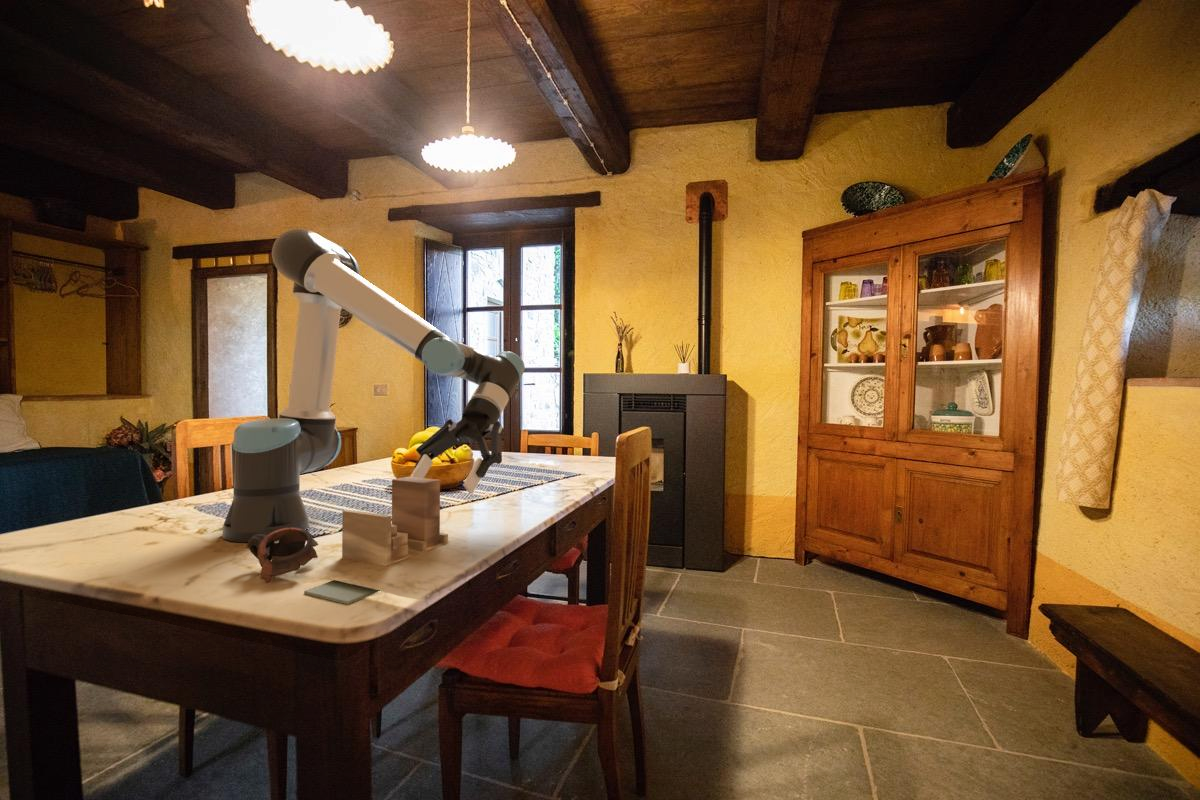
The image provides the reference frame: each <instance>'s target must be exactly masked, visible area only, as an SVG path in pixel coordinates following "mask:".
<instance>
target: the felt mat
mask: <svg viewBox="0 0 1200 800" xmlns="http://www.w3.org/2000/svg"><path fill="white" fill-rule="evenodd" d="M378 591H379V592H381V589H380V590H379V589H376V588H371V587H367V586H362V585H358V584H354V583H353V584H352V583H349V582H346V581H345V582H344V581H340V580H336V579H334V580H333V579H332V580H330V581H327V582H325V583H322V584H318V585H317V586H314V587H312V588H308V589H305V590H304V595H309V596H313V597H317V598H321V599H325V600H327V601H328V600H329V601H332V602H337V603H341V604H344V605H351V604H353V603H355V602H358V601H359V600H362V599H365V598H367V597H369V596H371V595H374V594H376V593H379V592H378ZM366 596H367V597H366ZM364 597H365V598H364ZM357 600H358V601H357ZM352 602H353V603H352ZM350 603H351V604H350Z"/></svg>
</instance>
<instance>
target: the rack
mask: <svg viewBox="0 0 1200 800" xmlns="http://www.w3.org/2000/svg"><path fill="white" fill-rule="evenodd" d="M341 513H342V517H341V519H342V526H341V527H342V529H341V530H342V531H341V532H342V533H341V534H342V535H341V538H342V541H341V542H342V543H341V546H342V547H341V552H342V554H341V557H342V558H343V559H348V560H353V561H357V562H362V563H368V564H372V565H376V566H377V565H378V566H381V567H382V566H383V567H387V566H390V565H393V564H395V563H398V562H400V561H403V560H406V559H407V558H411V557H413V556H416V555H419V554H421V553H424V552H427V551H429V550H432V549H435V548H437V547H439V546H442V545H445V544H447V543H451V542H452V541H451V540H449V534H448V533H444V532H440V543H439V544H436V545H433V546H431V547H428V548H426V542H425V541H419V540H413V539H408V533H399V532H397V526H396V525H392V515H388V514H383V513H382V514H381V513H374V512H369V511H368V512H367V511H361V510H354V509H345V510H342V512H341Z"/></svg>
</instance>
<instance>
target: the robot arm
mask: <svg viewBox="0 0 1200 800" xmlns="http://www.w3.org/2000/svg"><path fill="white" fill-rule="evenodd" d="M271 257H272V262H273V264H274V266H275V268H276V269H277V270H278V272H279V273H280V274H281V275H282V276H283V277H285V278H286V279H287V280H290V281H291V282H293V286H292V287H293V288H292V296H293V297H294V298H295V299H296V300H297V302H298V305H299V306H298V312H297V313H298V314H297V322H296V333H295V340H294V350H293V356H292V357H293V359H292V368H291V375H290V385H289V386H290V387H289V395H288V404H287V406H286V407H285V408H284V409H282V410H281V411H280V412H279V415H278V418H266V419H265V418H264V419H256V420H251V421H246V422H243V423H240V424H239V425H237V427H235V429H234V432H233V441H232V445H231V446H232V448H233V451H232V453H233V458H232V459H233V469H232V470H233V472H232V473H233V477H232V479H233V497H232V498H233V499H232V501H231V504H230V507H229V510H228V512H227V515H226V517H225V519H224V523H223V525H222V539H223V540H225V541H229V542H233V543H234V542H235V543H248V542H249V540H250V539H251V538H252V537H253V536H254V535H258V534H264V535H268V534H270V533H272V532H274V531H276V530H279V529H282V528H291V527H293V528H300V529H303V530H305V529H307V528H308V527H309V528H310V526H309V525H310V524H309V523H310V519H309V515H308V512H307V510H306V506H305V505H304V502H303V499H302V496H301V493H300V492H301V491H300V489H301V488H300V485H301V484H300V482H301V481H300V475H301V474H306V473H311V472H316V471H320V470H321V469H323V468H325V467H327V466H329V465H330V464H332V463H333V462H334V460H335V459H337V457H338V455H340V454H339V453H340V451H341V448H342V437H341V433H340V432H339V431H338V429H337V427H336V415H335V414H334V413H333V412H332V411H331V409H330V408H331V401H332V393H333V392H332V391H333V382H334V380H333V379H334V373H335V363H336V356H337V355H336V354H337V346H338V337H339V330H340V329H339V328H340V318H341V311H342V309H343V310H345V311H346V312H347V313H350V314H351V315H352V316H354V317H355V318H357V320H360V321H361V322H363V324H365V325H367V326H368V327H370V328H371V329H373V330H374V331H376V332H377V333H379V335H380V334H381V336H384V337H385V338H386V339H387V340H389V341H390V342H392V343H393V344H395V345H397V347H399V348H401V349H402V350H404V351H405V352H406V353H408V354H409V355H411V356H413V357H414V358H416V360H418V361H419V362H420V363H422V364H423V365H424V366H425V368H426V369H427V370H428V371H429V372H431V373H433V374H435V375H437V376H440V377H453V378H459V379H463V380H465V381H467V382H471V383H473V384H475V385H478V386H477V388H476V389H475V391H474V392H473V394H472V395H471V398H470V399H469V400H468V402H467V404H466V406H465V407H464V409H463V411H462V417H461V419H460V420H459V421H458V422H453V420H452V419H448V420H446V421H445V423H444V424H443V426H441V427H440V428H439V429H438V430H437V431H436V432H435V433H434V434H431V436H430V437H429V438H427V439H426V440H425V441H424V442H423V443H422V444H420V445H419V446H418V447H417V448H416V449H415V451H416V452H417V454H418V455H419V456H420V457H419V459H418V460H417V462H416V463H415V465H414V467H413V468H414V469H413V471H412V472H411V473H410V475H409V477H417V478H426V475H427V473H428V472H429V471H430V469H431V467H432V465H433V463H434V462H433V460H434V459H436V458H437V457H438V456H440V455H441V454H443V453H445V452H446V451H447V450H449V449H451V448H452V447H454V446H456V445H457V446H459V445H461V444H462V443H465V444H467V443H471V444H476V443H477V445H478V447H479V452H480V456H481V457H477V459H476V460H475V462H474V464H473V466H472V468H471V470H470V471H469V474H468V475H467V477H466V479H465V481H464V483H463V484H462V485H463V487H464V489H465V490H466V491H467V493H468V494H470V495H471V494H472V495H473V494H474V492H475V490H476V488H477V486H478V485H479V482H480V480H481V479H482V478H484V477H485V475H486V474H487V472H488V470H489V469H490V466H492V465H494V464H497V465H499V464H501V463H502V462H503V454H502V453H503V452H502V451H503V449H502V445H503V444H502V436H503V433H504V431H505V429H504V427H503V426H502V424H501V422H500V421H499V420H500V417H501V415H502V413H503V411H504V410H505V408H506V406H507V405H508V402H509V401H510V399H511V397H512V395H513V394H514V392H515V390H516V388H517V387H518V385H519V384H520V381H521V379H522V376H523V374H524V372H525V369H526V367H525V366H526V365H525V362H524V361H523V359H522V358H521V357H520V356H519V355H518V354H517V353H514V352H512V351H505V350H503V351H500V352H499V353H498V354H497V355H495V356H494V355H492V354H489V353H485V352H483V351H481V350H478V349H476V348H474V347H471V346H469V345H467V344H464V343H462V342H460V341H457V340H454V339H453V338H451V337H450V336H448V335H447V334H446V333H444V332H442V331H440V330H439V329H438V328H436V327H434V326H433V325H432V324H430V323H429V322H428V321H426V320H425V319H423V318H422V317H420V315H417V314H416V313H414V312H413V311H412V310H410V309H408V308H407V307H406V306H404V305H403V304H401V303H399V301H396V299H394V298H393V297H392V296H390V295H388V294H387V293H385V292H384V291H383V290H381V289H380V288H378V287H377V286H376V285H373V284H372V283H370V282H369V281H368V280H366V279H365V278H363V277H362V276H361V270H360V266H359V263H358V262H357V260H356V259H355V257H354V256H353V255H352V254H351V253H350V252H348V250H347V249H346V248H344V247H342V246H341V245H339V244H337V243H335V242H333V241H331V240H329V239H327V238H325V237H323V236H321V235H320V234H318V233H316V232H315V231H312V230H309V229H303V228H294V229H289V230H286V231H284V232H283V233H281V234H280V235H279V236H278V237H277V238H276V239H275V241H274V243H273V245H272V248H271ZM489 434H490V437H491V442H490V444H491V445H490V446H491V448H490V449H491V450H489V447H488V444H487V439H486V436H488V435H489ZM456 435H457V436H456ZM490 451H491V453H490ZM309 528H308V529H309Z"/></svg>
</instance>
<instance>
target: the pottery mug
mask: <svg viewBox="0 0 1200 800" xmlns="http://www.w3.org/2000/svg"><path fill="white" fill-rule="evenodd" d="M313 537H314V536H313V534H311V533H310V532H309V531H308V530H303V529H300V528H293V527H291V528H282V529H279V530H276V531H274V532H272V533H270V534H268V535H264V534H258V535H254V536H253V537H252V538H251V539H250V540H249V542H247V548H248V549H249V552H250V553H251V554H252V555H253V556H254V557H255V558H256V559H257V560H258V563H259V565H260V568H261V570H260V573H259V578H260V580H262V581H263V582H266V583H269V582H270V581H271V580H272V579H273V578H276V577H279V576H282V575H286V574H288V573H291V572H294V571H297V570H300V568H301V566H303V567H304V566H305V565H307V564H308V563H309V562H310V561H312V559H318V558H319V555H318V554H317V551H316V549H315V547H317V546H318V545H319V543H318V541H317V540H315V539H314V538H313ZM275 541H278V542H275Z"/></svg>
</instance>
